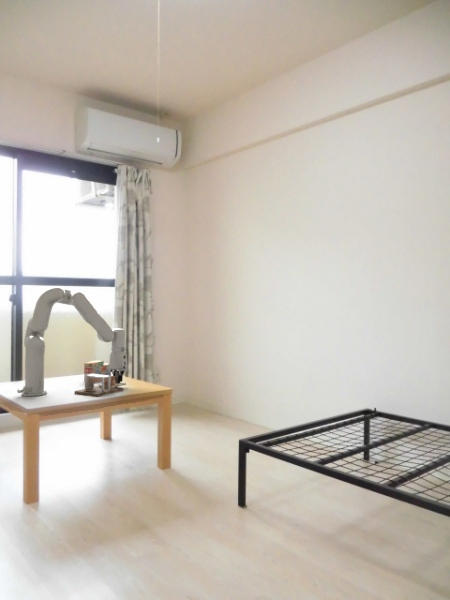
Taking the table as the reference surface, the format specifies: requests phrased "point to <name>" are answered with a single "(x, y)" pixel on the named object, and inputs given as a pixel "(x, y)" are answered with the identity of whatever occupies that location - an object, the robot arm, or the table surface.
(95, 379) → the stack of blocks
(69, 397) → the table surface
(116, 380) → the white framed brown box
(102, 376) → the tunnel
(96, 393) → the track board
